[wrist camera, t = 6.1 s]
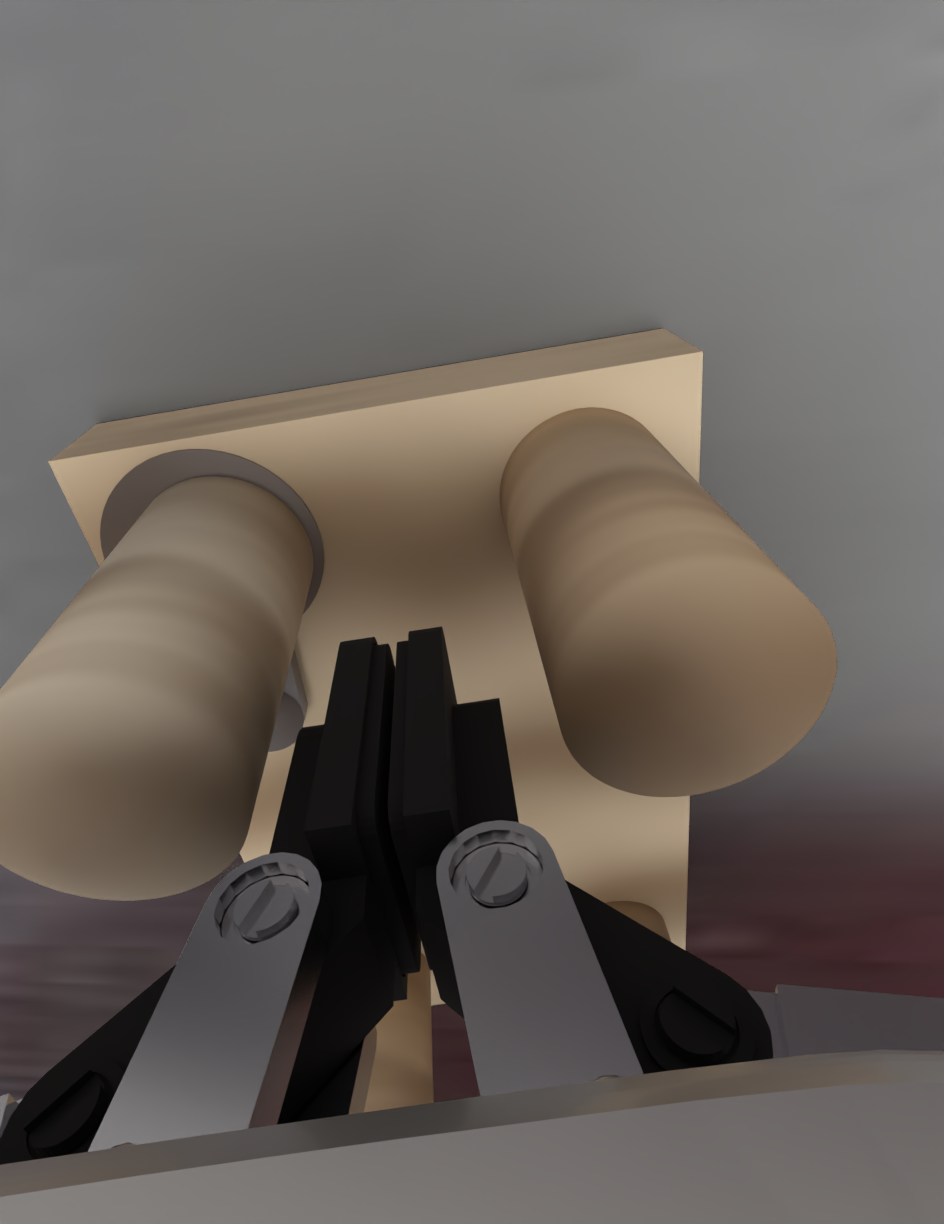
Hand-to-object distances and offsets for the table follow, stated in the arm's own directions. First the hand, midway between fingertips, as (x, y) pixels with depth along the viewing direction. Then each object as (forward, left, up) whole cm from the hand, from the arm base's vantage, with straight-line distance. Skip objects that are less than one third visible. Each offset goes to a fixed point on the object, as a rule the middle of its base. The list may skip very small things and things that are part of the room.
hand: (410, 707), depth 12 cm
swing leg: (0, +4, -5) cm, 6 cm away
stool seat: (-7, 0, -7) cm, 10 cm away
